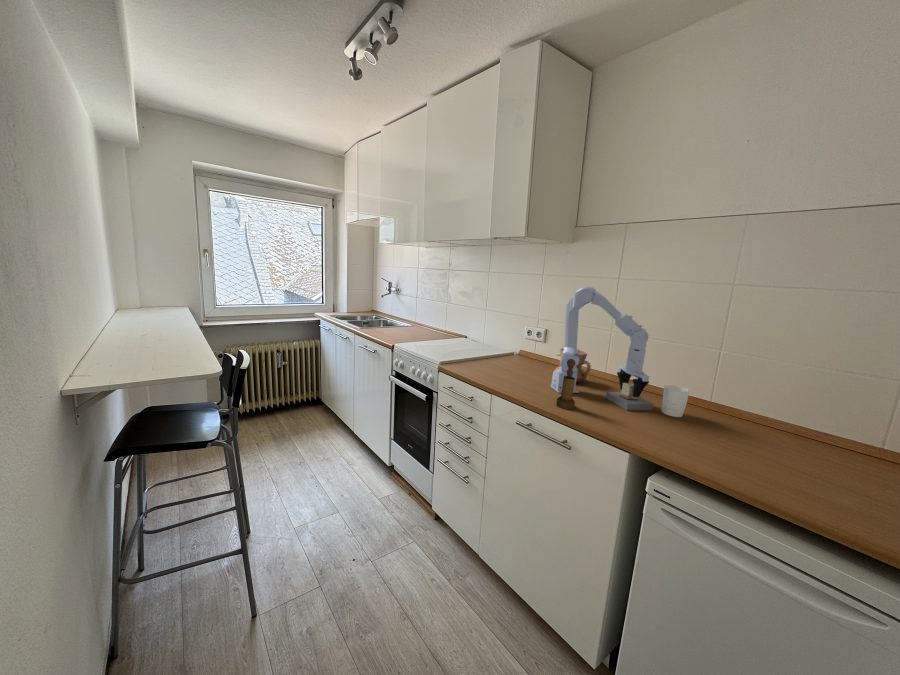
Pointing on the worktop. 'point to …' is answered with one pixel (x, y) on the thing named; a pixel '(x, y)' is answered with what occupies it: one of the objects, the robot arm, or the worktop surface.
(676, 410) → the white cup
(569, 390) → the brown capped rod
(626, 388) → the peg
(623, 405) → the socket board
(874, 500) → the worktop surface
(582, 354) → the ceramic jug
